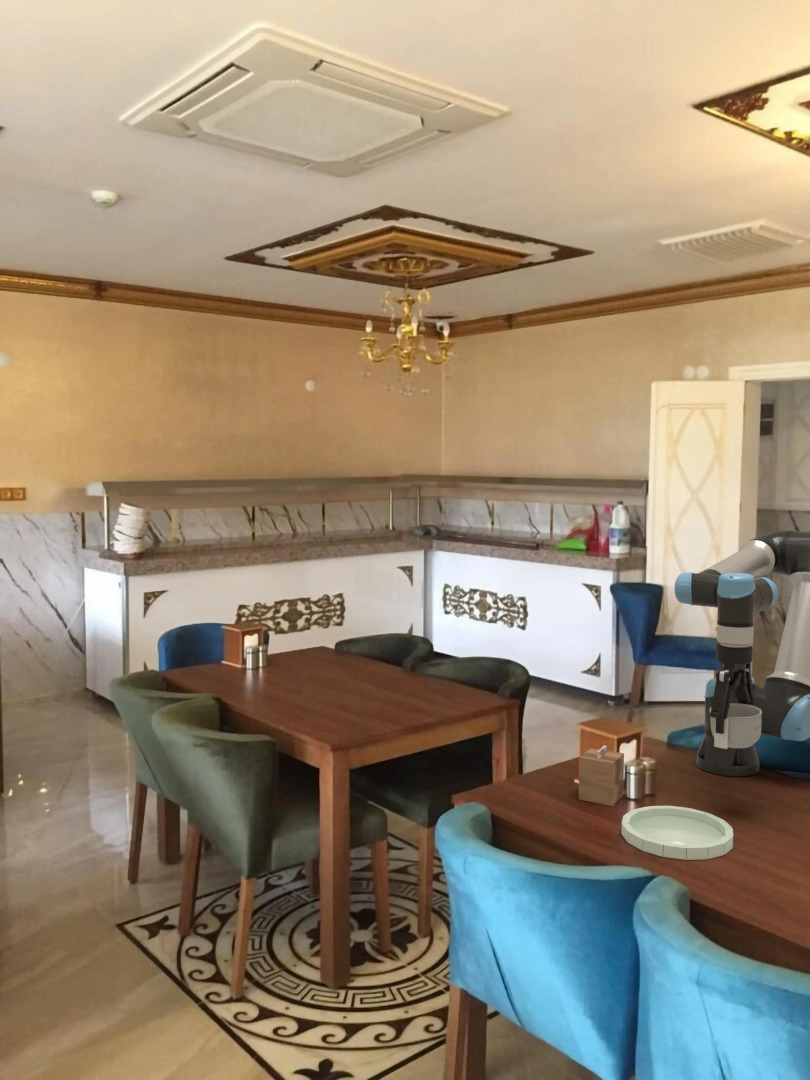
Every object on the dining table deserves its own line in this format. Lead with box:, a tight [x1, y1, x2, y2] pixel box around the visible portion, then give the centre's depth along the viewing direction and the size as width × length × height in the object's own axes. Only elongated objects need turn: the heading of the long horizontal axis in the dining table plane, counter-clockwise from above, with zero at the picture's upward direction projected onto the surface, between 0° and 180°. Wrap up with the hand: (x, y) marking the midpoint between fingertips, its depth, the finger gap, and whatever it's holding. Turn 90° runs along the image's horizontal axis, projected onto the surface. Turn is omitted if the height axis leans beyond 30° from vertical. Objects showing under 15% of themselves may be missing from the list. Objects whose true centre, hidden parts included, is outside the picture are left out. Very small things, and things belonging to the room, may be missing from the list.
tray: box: [620, 805, 734, 861], centre depth 191 cm, size 22×22×2 cm
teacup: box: [710, 703, 762, 748], centre depth 204 cm, size 14×11×8 cm
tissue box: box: [578, 745, 625, 807], centre depth 213 cm, size 8×8×12 cm
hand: (731, 740), depth 204 cm, fingers closed on teacup, 11 cm apart
